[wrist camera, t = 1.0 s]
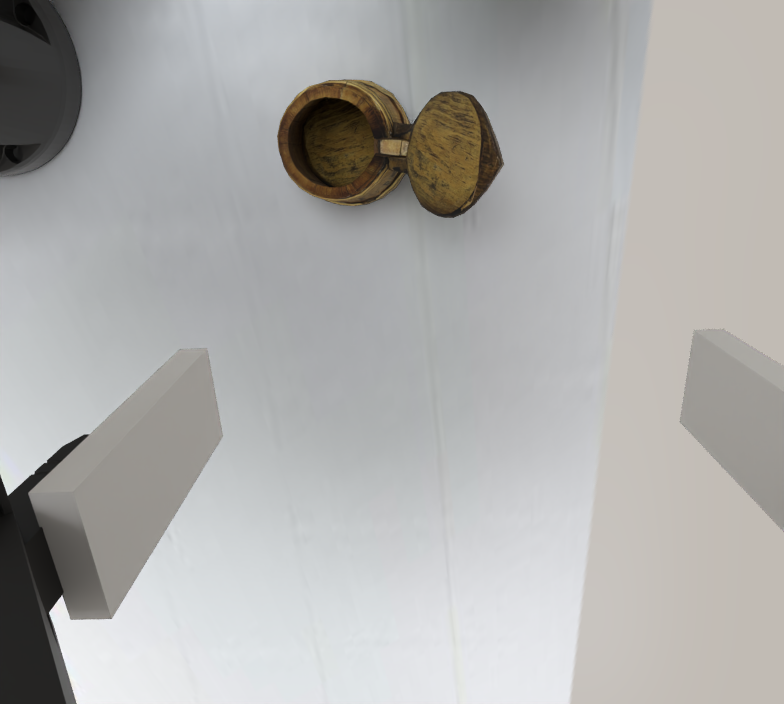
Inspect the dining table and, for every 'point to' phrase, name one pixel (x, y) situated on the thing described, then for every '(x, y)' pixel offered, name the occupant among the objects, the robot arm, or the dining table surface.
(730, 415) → the robot arm
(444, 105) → the wooden mug
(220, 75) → the dining table surface
